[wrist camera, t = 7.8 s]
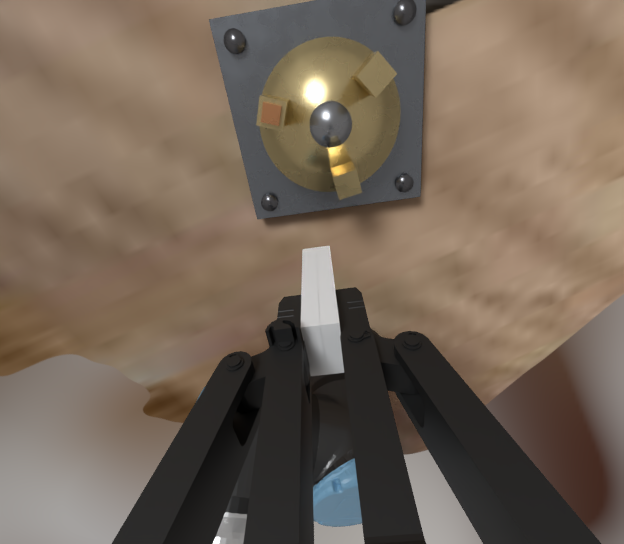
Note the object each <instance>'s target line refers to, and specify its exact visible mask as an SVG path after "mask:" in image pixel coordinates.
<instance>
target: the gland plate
mask: <svg viewBox="0 0 624 544" xmlns="http://www.w3.org/2000/svg"><path fill="white" fill-rule="evenodd" d="M425 14H426V0H315V1H309V2H304V3H298V4H293V5H287V6H281V7H276V8H270V9H265V10H259V11H254V12H248V13H243V14H237V15H231V16H226V17H220V18H215V19H209V22H210V26H211V30H212V35H213V39H214V43H215V47H216V51H217V55H218V59H219V63H220V67H221V72H222V76H223V80H224V84H225V88H226V92H227V96H228V100H229V105H230V109H231V113H232V117H233V121H234V125H235V129H236V133H237V138H238V142H239V146H240V150H241V154H242V158H243V162H244V166H245V170H246V175H247V179H248V183H249V187H250V191H251V195H252V199H253V203H254V208H255V212H256V216H257V219H264V218H271V217H278V216H285V215H292V214H299V213H307V212H314V211H321V210H328V209H335V208H342V207H350V206H357V205H364V204H371V203H378V202H385V201H393V200H400V199H407V198H414V197H420V193H421V157H422V122H423V86H424V50H425ZM321 37H342V38H348V39H351V40H354V41H356V42H359V43H361V44H362V45H364V46H366V47H368V48H369V49H370V50H372V51H373V52H376V51H379V52H380V54H381V55H382V56H383V57H384V58H385V60H386V61H387V62H388V63H389V64H390V66H391V67H392V68H393V69H394V70H395V71H396V73H397V75H396V76H395V77H394V81H395V84H396V86H397V90H398V94H399V99H400V108H401V109H400V125H399V130H398V134H397V138H396V141H395V143H394V146H393V148H392V150H391V152H390V154H389V156H388V157H387V159H386V160H385V162H384V163H383V164H382V165H381V167H380V168H379V169H378V170H377V171H376V172H375V173H374V174H373V175H372V176H370V177H369V178H368V179H366V180H365V181H363V182H362V183H360V186H361V190H362V193H360V194H357V195H354V196H350V197H347V198H344V199H341V200H339V198H338V195H337V191H334V192H321V191H314V190H311V189H307V188H304V187H302V186H300V185H298V184H296V183H294V182H293V181H291V180H290V179H288V178H287V177H286V176H285V175H284V174H282V173H281V172H280V171H279V170H278V168H277V167H276V166H275V165H274V163H273V162H272V160H271V159H270V157H269V155H268V153H267V151H266V149H265V147H264V144H263V141H262V137H261V133H260V127H259V126H257V125H256V122H257V114H258V105H259V96H260V95H262V92H263V89H264V86H265V84H266V81H267V79H268V77H269V75H270V74H271V72H272V70H273V69H274V67H275V66H276V65H277V64H278V62H279V61H280V60H281V59H282V58H283V57H284V56H285V55H286V54H287V53H288V52H290V51H291V50H292V49H294V48H295V47H297V46H298V45H301V44H303V43H305V42H307V41H310V40H313V39H316V38H321Z"/></svg>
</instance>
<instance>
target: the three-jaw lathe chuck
mask: <svg viewBox="0 0 624 544" xmlns="http://www.w3.org/2000/svg"><path fill="white" fill-rule="evenodd" d="M396 75H397V73H396V71H395V70H394V69H393V68H392V67H391V66H390V64H389V63H388V62H387V61H386V60H385V58H384V57H383V56H382V55H381V54H380V52H379V51H376V52H373V51H372V50H370V49H369V48H368V47H366V46H364V45H362V44H361V43H359V42H356V41H354V40H351V39H348V38H342V37H321V38H316V39H313V40H310V41H307V42H305V43H303V44H301V45H298V46H297V47H295V48H294V49H292V50H291V51H290V52H288V53H287V54H286V55H285V56H284V57H283V58H282V59H281V60H280V61H279V62H278V64H277V65H276V66H275V67H274V69H273V70H272V72H271V74H270V75H269V77H268V79H267V81H266V84H265V86H264V89H263V92H262V95H260V96H259V105H258V114H257V122H256V125H257V126H259V127H260V133H261V137H262V141H263V144H264V147H265V149H266V151H267V153H268V155H269V157H270V159H271V160H272V162H273V163H274V165H275V166H276V167H277V168H278V170H279V171H280V172H281V173H282V174H284V175H285V176H286V177H287V178H288V179H290V180H291V181H293V182H294V183H296V184H298V185H300V186H302V187H304V188H307V189H311V190H314V191H321V192H334V191H337V195H338V198H339V200H341V199H344V198H347V197H350V196H354V195H357V194H360V193H362V190H361V186H360V183H362V182H363V181H365V180H366V179H368V178H369V177H370V176H372V175H373V174H374V173H375V172H376V171H377V170H378V169H379V168H380V167H381V165H382V164H383V163H384V162H385V160H386V159H387V157H388V156H389V154H390V152H391V150H392V148H393V146H394V143H395V141H396V138H397V134H398V130H399V125H400V109H401V108H400V99H399V94H398V90H397V86H396V84H395V81H394V77H395V76H396Z"/></svg>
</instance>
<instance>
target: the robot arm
mask: <svg viewBox="0 0 624 544" xmlns="http://www.w3.org/2000/svg"><path fill="white" fill-rule="evenodd" d="M277 317H278V318H277V320H276V321H274V322H272V323H271V324H270V325H269V326H267V328H266V331H265V332H266V335H267V339H268V342H269V346H270V348H269V349H267V350H266V351H264V352H262V353H260V354H257V355H255V356H252V357H251V356H250V355H249V354H248V353H246V352H242V351H240V352H234V353H231V354H229V355H227V356H226V357H224V358H223V359H222V360H221V362H220V363H219V364H218V366H217V368H216V369H215V371H214V373H213V375H212V376H211V378H210V380H209V381H208V383H207V385H206V386H205V387H204V389H203V390H202V392H201V394H200V395H199V397H198V399H197V401H196V403H195V405H194V406H193V408H192V410H191V411H190V413H189V415H188V416H187V418H186V420H185V422H184V423H183V425H182V427H181V428H180V430H179V432H178V434H177V435H176V437H175V438H174V440H173V442H172V443H171V445H170V447H169V448H168V450H167V452H166V454H165V455H164V457H163V458H162V460H161V462H160V464H159V465H158V467H157V469H156V470H155V472H154V474H153V475H152V477H151V479H150V480H149V482H148V484H147V485H146V487H145V489H144V490H143V492H142V494H141V496H140V497H139V499H138V500H137V502H136V504H135V506H134V507H133V509H132V511H131V512H130V514H129V516H128V517H127V519H126V521H125V522H124V524H123V526H122V527H121V529H120V531H119V532H118V534H117V536H116V538H115V539H114V541H113V543H112V544H314V524H313V523H314V521H317V522H318V523H319V524H321V525H325V526H333V527H337V526H339V527H340V526H350V525H356V524H361V523H362V525H363V533H364V540H365V544H426V542H425V539H424V536H423V532H422V528H421V524H420V520H419V516H418V512H417V508H416V504H415V500H414V496H413V492H412V488H411V483H410V480H409V476H408V472H407V467H406V463H405V459H404V455H403V451H402V447H401V443H400V439H399V435H398V431H397V427H396V423H395V419H394V415H393V411H392V407H391V403H390V399H389V395H388V391H394V392H396V395H397V397H398V399H399V400H400V402H401V404H402V405H403V407H404V409H405V411H406V412H407V414H408V416H409V417H410V419H411V421H412V423H413V424H414V426H415V428H416V429H417V431H418V433H419V434H420V436H421V438H422V440H423V441H424V443H425V445H426V446H427V448H428V450H429V452H430V453H431V455H432V457H433V458H434V460H435V462H436V464H437V465H438V467H439V469H440V470H441V472H442V474H443V475H444V477H445V479H446V481H447V482H448V484H449V486H450V487H451V489H452V491H453V493H454V494H455V496H456V498H457V499H458V501H459V503H460V505H461V506H462V508H463V510H464V511H465V513H466V515H467V516H468V518H469V520H470V522H471V523H472V525H473V527H474V528H475V530H476V532H477V534H478V535H479V537H480V539H481V540H482V542H483V544H601V543H600V542H599V540H598V539H597V538H596V537H595V536H594V534H593V533H592V532H591V531H590V530H589V529H588V527H587V526H586V525H585V524H584V523H583V521H582V520H581V519H580V518H579V517H578V516H577V514H576V513H575V512H574V511H573V510H572V508H571V507H570V506H569V505H568V504H567V502H566V501H565V500H564V499H563V498H562V497H561V495H560V494H559V493H558V492H557V491H556V490H555V488H554V487H553V486H552V485H551V484H550V482H549V481H548V480H547V479H546V478H545V476H544V475H543V474H542V473H541V472H540V470H539V469H538V468H537V467H536V466H535V465H534V463H533V462H532V461H531V460H530V459H529V457H528V456H527V455H526V454H525V453H524V452H523V451H522V449H521V448H520V447H519V446H518V445H517V443H516V442H515V441H514V440H513V439H512V437H511V436H510V435H509V434H508V433H507V431H506V430H505V429H504V428H503V427H502V425H501V424H500V423H499V422H498V421H497V420H496V419H495V417H494V416H493V415H492V414H491V412H490V411H489V410H488V409H487V408H486V406H485V405H484V404H483V403H482V402H481V401H480V399H479V398H478V397H477V396H476V395H475V393H474V392H473V391H472V390H471V389H470V388H469V386H468V385H467V384H466V383H465V382H464V380H463V379H462V378H461V377H460V376H459V375H458V373H457V372H456V371H455V370H454V369H453V367H452V366H451V365H450V364H449V363H448V361H447V360H446V359H445V358H444V357H443V356H442V354H441V353H440V352H439V351H438V350H437V348H436V347H435V346H434V345H433V344H432V343H431V341H430V340H429V339H428V338H427V337H426V336H425V335H423V334H421V333H418V332H413V331H407V332H402V333H400V334H398V335H397V336H396V337H395V339H388V338H383V337H380V336H379V335H378V334H377V333H376V332H375V331H373V330H372V329H371V328H370V326H369V322H368V318H367V314H366V309H365V305H364V301H363V297H362V293H361V292H360V291H359V290H358V289H357V288H356V287H355V288H347V289H339V290H335V284H334V277H333V269H332V261H331V253H330V246H323V247H316V248H308V249H303V255H302V292H301V295H296V296H288V297H284V298H283V299H282V300H281V302H280V303H279V308H278V316H277ZM387 390H388V391H387Z"/></svg>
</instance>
